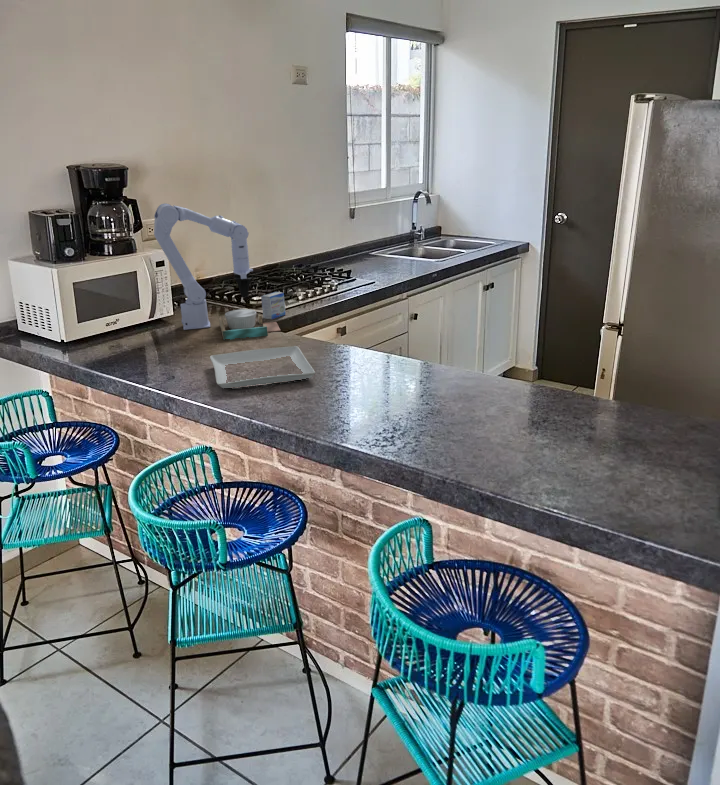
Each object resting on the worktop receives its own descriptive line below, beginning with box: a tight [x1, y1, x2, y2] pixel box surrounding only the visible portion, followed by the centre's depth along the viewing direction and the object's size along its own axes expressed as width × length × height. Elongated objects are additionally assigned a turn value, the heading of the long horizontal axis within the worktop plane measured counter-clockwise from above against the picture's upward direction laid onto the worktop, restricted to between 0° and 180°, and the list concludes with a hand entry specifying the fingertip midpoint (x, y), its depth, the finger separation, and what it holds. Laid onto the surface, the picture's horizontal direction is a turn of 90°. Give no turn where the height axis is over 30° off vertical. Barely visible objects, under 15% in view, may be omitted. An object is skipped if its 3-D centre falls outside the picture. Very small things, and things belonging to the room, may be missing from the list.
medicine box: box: [260, 291, 286, 320], centre depth 265 cm, size 8×4×9 cm, turn 143°
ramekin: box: [224, 308, 257, 330], centre depth 254 cm, size 11×11×5 cm
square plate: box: [209, 345, 316, 389], centre depth 205 cm, size 27×27×4 cm
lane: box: [219, 313, 282, 341], centre depth 250 cm, size 20×20×3 cm
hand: (244, 294), depth 261 cm, fingers open, 7 cm apart
